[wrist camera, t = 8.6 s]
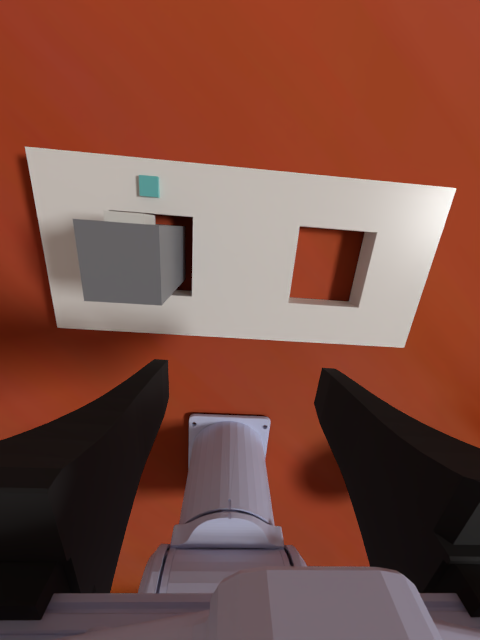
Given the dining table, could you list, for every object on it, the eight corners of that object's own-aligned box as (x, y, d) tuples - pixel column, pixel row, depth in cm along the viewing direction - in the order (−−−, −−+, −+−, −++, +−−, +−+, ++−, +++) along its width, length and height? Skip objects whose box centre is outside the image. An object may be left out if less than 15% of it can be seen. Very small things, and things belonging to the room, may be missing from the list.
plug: (185, 278, 21) (161, 305, 13) (135, 275, 20) (84, 301, 13) (185, 219, 19) (158, 214, 12) (130, 214, 19) (71, 207, 12)
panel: (391, 338, 23) (406, 349, 21) (71, 319, 21) (54, 329, 19) (436, 191, 19) (460, 187, 17) (45, 154, 17) (21, 145, 15)
